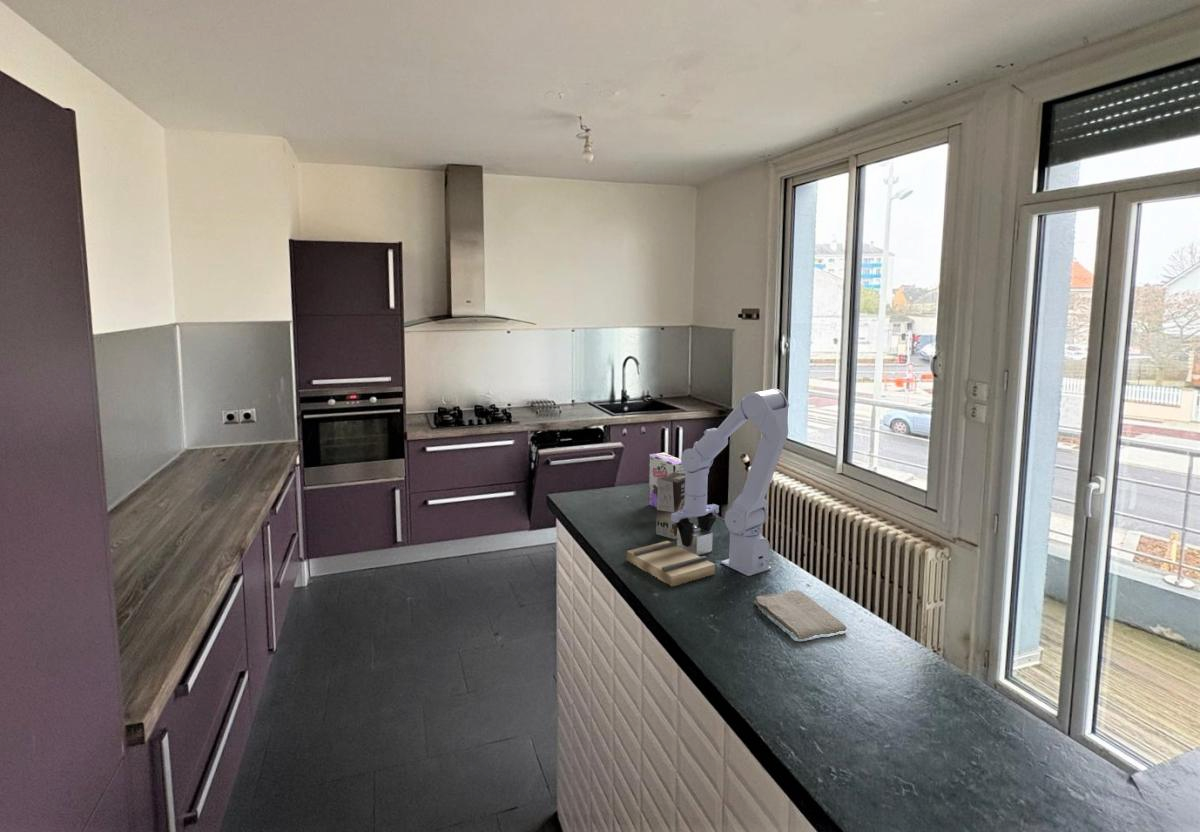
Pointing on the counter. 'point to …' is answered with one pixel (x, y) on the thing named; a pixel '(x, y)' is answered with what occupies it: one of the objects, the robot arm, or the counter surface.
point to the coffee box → (669, 503)
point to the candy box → (661, 472)
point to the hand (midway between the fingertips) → (694, 543)
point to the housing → (697, 541)
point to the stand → (671, 563)
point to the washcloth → (799, 614)
